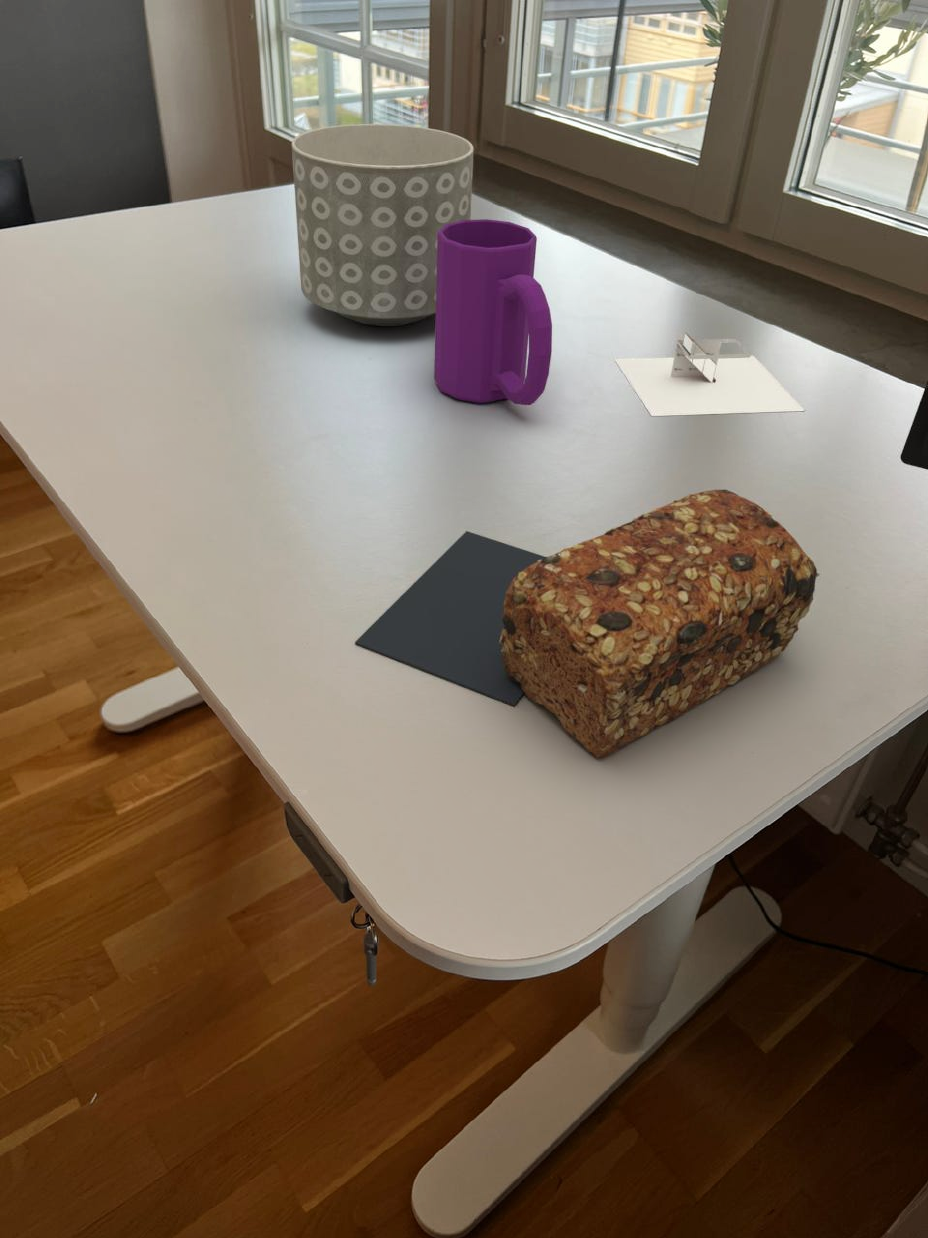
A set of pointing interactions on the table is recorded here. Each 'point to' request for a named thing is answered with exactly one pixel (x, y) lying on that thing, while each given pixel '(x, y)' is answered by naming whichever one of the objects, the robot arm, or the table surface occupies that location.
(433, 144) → the planter
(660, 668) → the bread
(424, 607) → the corner pad
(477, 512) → the table surface
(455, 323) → the mug
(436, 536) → the table surface
